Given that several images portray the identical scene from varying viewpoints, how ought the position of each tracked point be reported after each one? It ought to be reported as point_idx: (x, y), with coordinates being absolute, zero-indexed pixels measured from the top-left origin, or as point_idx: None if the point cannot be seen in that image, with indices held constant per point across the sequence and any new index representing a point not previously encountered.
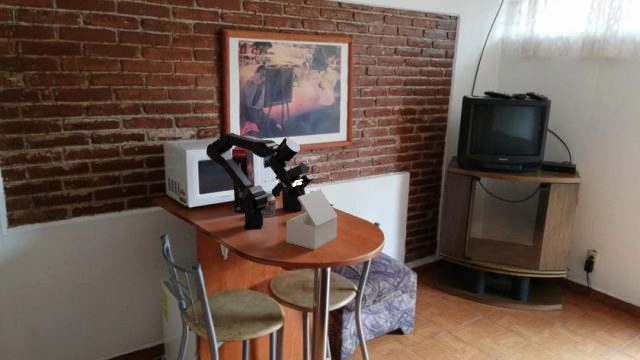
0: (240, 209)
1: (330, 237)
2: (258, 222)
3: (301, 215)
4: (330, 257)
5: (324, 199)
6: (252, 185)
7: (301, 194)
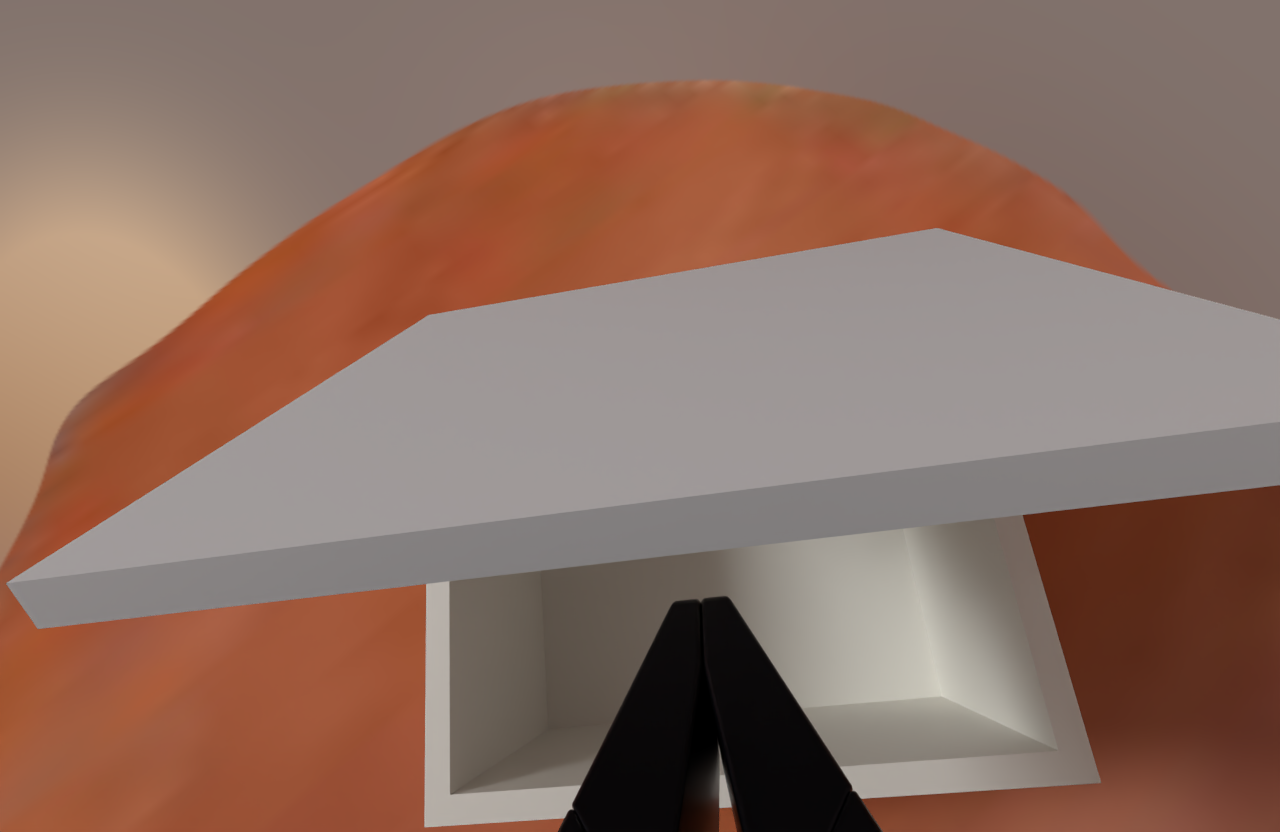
0: None
1: None
2: None
3: None
4: (905, 181)
5: (339, 411)
6: None
7: (819, 827)
